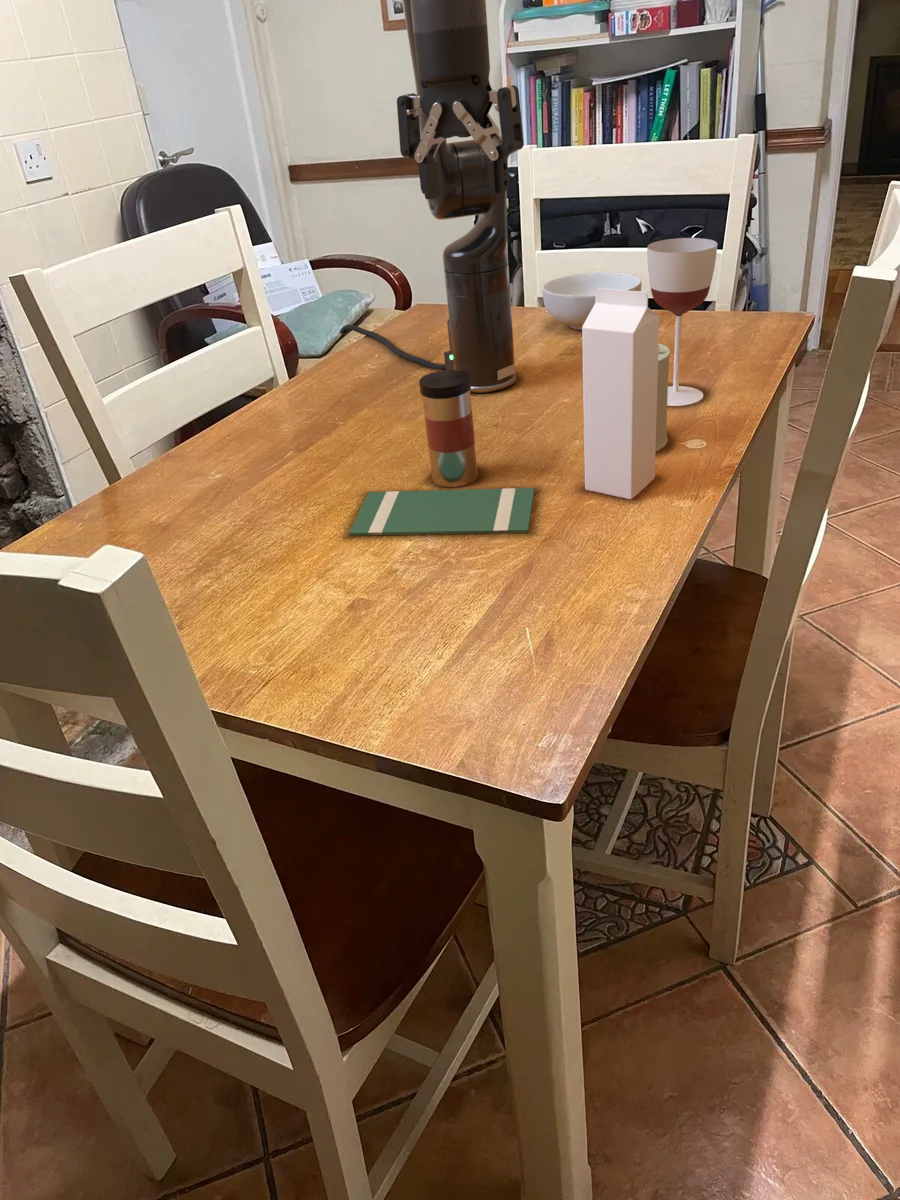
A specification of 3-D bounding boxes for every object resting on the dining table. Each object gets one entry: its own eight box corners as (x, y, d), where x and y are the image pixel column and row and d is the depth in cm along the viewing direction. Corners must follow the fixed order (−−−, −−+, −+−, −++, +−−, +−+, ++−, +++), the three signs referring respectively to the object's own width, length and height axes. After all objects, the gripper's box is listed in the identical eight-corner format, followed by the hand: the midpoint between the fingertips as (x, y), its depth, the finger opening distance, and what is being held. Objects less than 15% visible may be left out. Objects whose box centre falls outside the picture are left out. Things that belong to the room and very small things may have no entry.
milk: (608, 470, 105) (608, 280, 93) (655, 479, 101) (661, 283, 89) (583, 490, 101) (580, 295, 89) (631, 500, 97) (634, 299, 85)
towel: (369, 494, 105) (368, 491, 105) (534, 490, 102) (534, 487, 102) (349, 535, 97) (348, 532, 97) (528, 533, 94) (528, 529, 94)
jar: (422, 477, 108) (409, 379, 101) (461, 462, 111) (451, 366, 104) (448, 492, 104) (436, 391, 97) (488, 477, 106) (480, 377, 99)
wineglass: (696, 409, 117) (705, 253, 106) (635, 402, 121) (637, 251, 110) (715, 388, 122) (725, 238, 111) (655, 382, 127) (660, 237, 116)
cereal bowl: (659, 316, 153) (660, 274, 149) (605, 344, 144) (604, 300, 140) (580, 305, 163) (579, 266, 160) (524, 331, 154) (522, 290, 150)
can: (667, 456, 106) (671, 359, 99) (591, 457, 108) (589, 362, 101) (667, 426, 113) (670, 334, 107) (595, 427, 115) (594, 337, 109)
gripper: (529, 15, 87) (537, 191, 96) (412, 29, 94) (429, 192, 103) (492, 19, 82) (504, 204, 91) (371, 34, 89) (393, 205, 98)
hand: (464, 197), depth 97 cm, fingers open, 8 cm apart
